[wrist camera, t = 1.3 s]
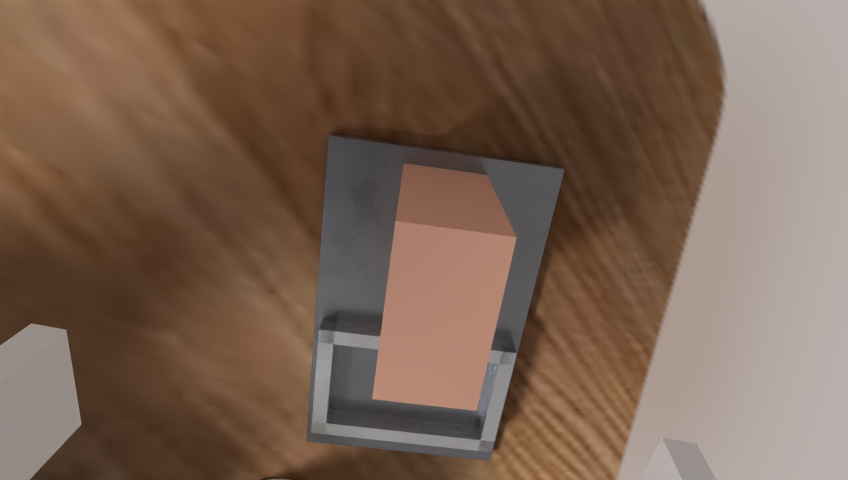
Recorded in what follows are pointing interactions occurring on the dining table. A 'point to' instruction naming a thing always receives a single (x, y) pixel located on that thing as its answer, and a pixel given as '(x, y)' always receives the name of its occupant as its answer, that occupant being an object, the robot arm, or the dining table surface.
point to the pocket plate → (366, 290)
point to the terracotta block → (442, 288)
